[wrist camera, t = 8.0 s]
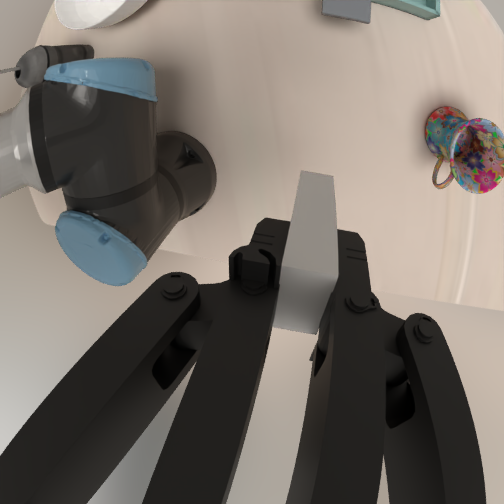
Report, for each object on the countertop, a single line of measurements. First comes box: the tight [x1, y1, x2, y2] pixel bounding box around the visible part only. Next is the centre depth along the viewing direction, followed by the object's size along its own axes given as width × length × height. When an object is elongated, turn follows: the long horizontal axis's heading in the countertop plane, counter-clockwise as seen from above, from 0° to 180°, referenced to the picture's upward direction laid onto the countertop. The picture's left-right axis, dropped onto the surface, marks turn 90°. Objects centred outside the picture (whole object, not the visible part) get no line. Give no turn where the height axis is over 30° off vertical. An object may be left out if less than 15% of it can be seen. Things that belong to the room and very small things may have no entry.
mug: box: [425, 107, 504, 194], centre depth 25 cm, size 12×9×11 cm
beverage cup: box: [0, 45, 94, 88], centre depth 23 cm, size 7×7×20 cm
